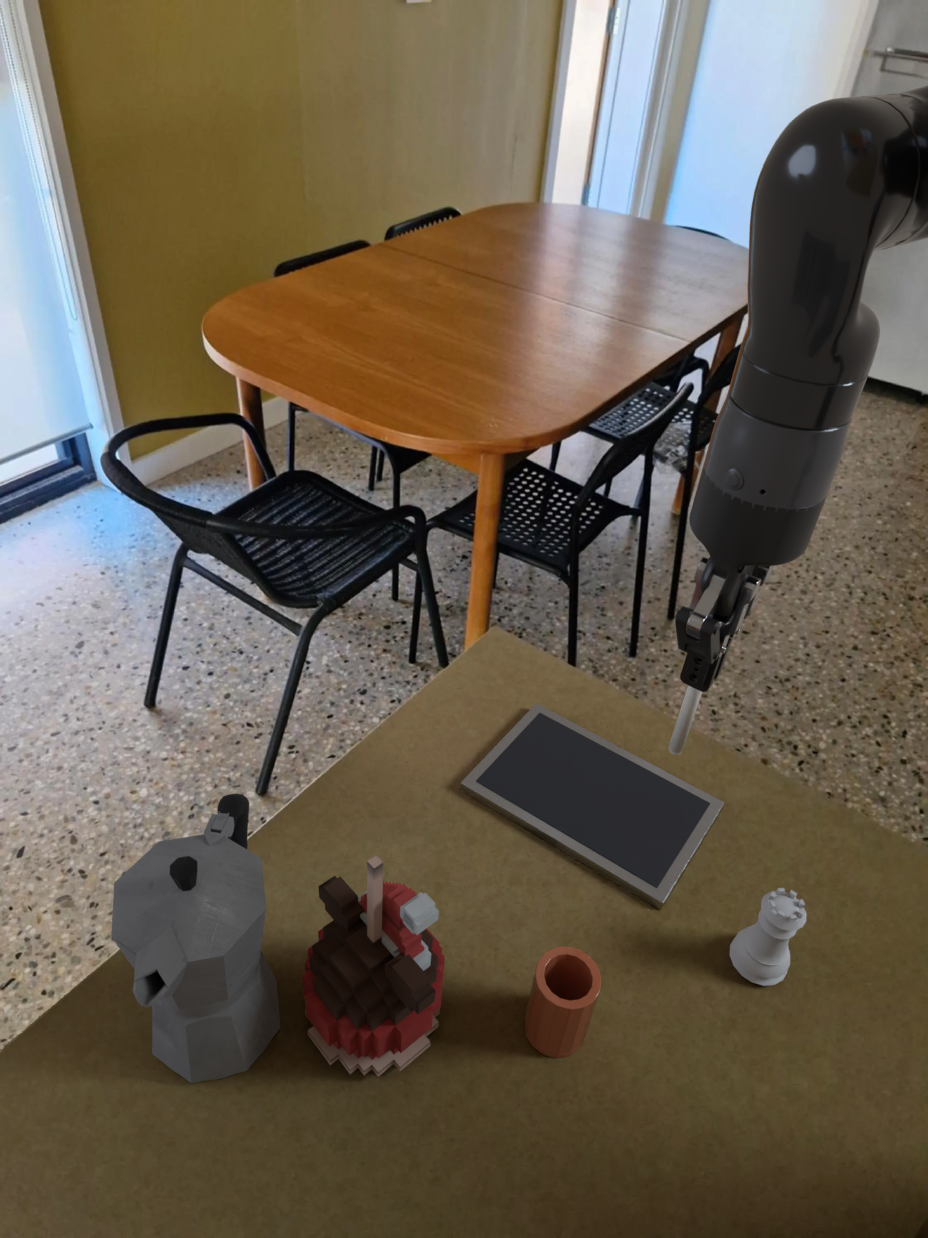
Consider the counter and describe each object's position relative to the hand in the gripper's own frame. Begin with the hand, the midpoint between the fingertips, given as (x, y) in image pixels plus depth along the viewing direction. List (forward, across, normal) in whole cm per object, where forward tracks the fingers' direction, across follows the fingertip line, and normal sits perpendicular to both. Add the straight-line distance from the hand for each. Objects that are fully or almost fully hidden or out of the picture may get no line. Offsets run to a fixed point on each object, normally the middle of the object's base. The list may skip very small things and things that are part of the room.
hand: (699, 678), depth 65 cm
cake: (+20, -26, +9) cm, 34 cm away
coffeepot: (+20, -32, +18) cm, 42 cm away
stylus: (+8, 0, 0) cm, 8 cm away
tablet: (+19, +1, +6) cm, 20 cm away
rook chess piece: (+19, -5, -12) cm, 23 cm away
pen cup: (+19, -19, -2) cm, 27 cm away
